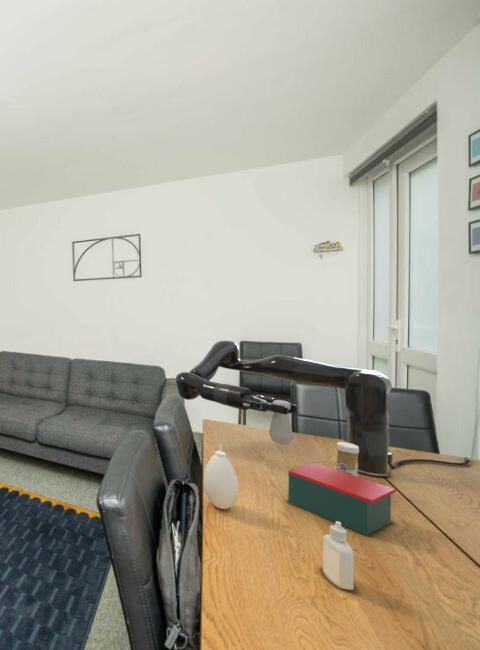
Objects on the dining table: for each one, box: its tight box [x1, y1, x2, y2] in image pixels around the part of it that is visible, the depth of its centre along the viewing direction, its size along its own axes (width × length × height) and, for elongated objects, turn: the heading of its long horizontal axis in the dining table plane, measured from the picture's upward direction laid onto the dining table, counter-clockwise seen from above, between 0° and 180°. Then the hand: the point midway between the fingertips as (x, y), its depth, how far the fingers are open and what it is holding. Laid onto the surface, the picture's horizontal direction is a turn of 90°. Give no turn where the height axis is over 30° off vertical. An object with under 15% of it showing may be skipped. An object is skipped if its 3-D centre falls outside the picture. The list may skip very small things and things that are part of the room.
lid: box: [288, 461, 397, 503], centre depth 95 cm, size 16×13×1 cm
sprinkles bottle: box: [336, 441, 359, 477], centre depth 107 cm, size 5×5×14 cm
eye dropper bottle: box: [322, 521, 355, 591], centre depth 72 cm, size 4×6×12 cm
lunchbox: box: [287, 473, 392, 536], centre depth 95 cm, size 16×13×8 cm
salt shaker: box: [268, 399, 294, 446], centre depth 111 cm, size 6×6×13 cm
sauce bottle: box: [203, 442, 239, 510], centre depth 98 cm, size 8×8×18 cm
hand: (292, 410), depth 108 cm, fingers closed on salt shaker, 4 cm apart
